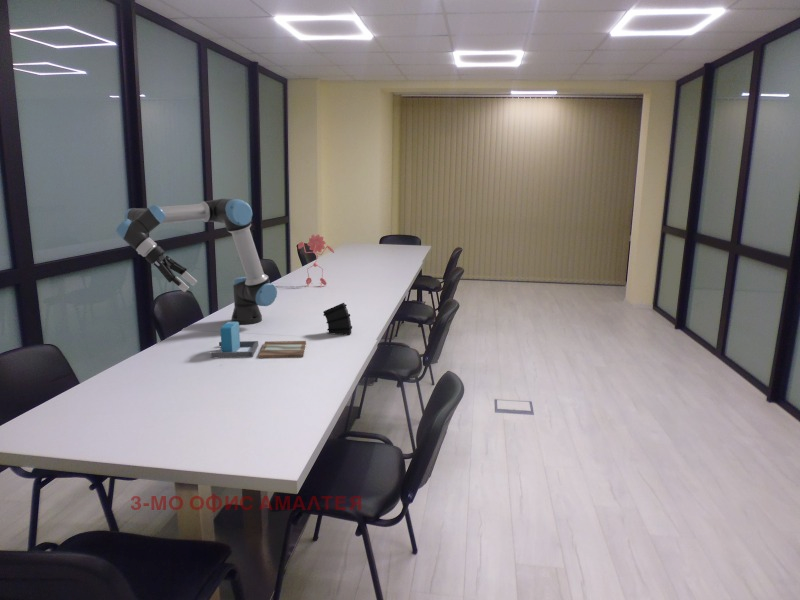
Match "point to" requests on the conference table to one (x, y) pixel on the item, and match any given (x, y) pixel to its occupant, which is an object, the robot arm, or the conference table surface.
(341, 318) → the magazine
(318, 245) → the figurine
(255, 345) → the grey u-shaped frame
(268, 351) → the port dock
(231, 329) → the data package
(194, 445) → the conference table surface
